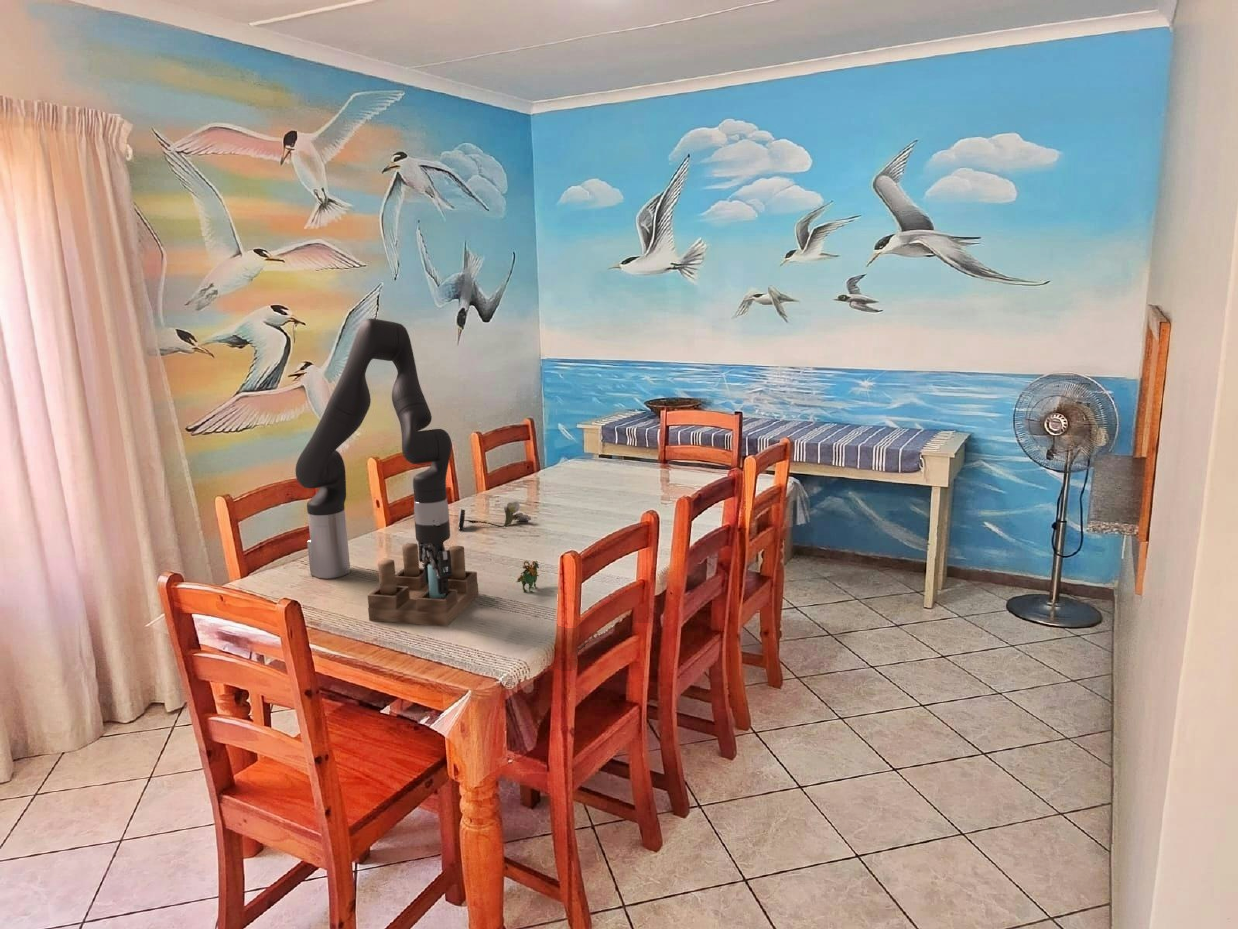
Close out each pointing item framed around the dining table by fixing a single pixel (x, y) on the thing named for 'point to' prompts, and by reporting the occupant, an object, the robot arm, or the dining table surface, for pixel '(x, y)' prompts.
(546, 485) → the dining table surface
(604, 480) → the dining table surface
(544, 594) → the dining table surface
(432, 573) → the loose leg
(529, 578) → the figurine
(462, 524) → the artificial flower
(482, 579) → the dining table surface
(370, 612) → the stool seat
